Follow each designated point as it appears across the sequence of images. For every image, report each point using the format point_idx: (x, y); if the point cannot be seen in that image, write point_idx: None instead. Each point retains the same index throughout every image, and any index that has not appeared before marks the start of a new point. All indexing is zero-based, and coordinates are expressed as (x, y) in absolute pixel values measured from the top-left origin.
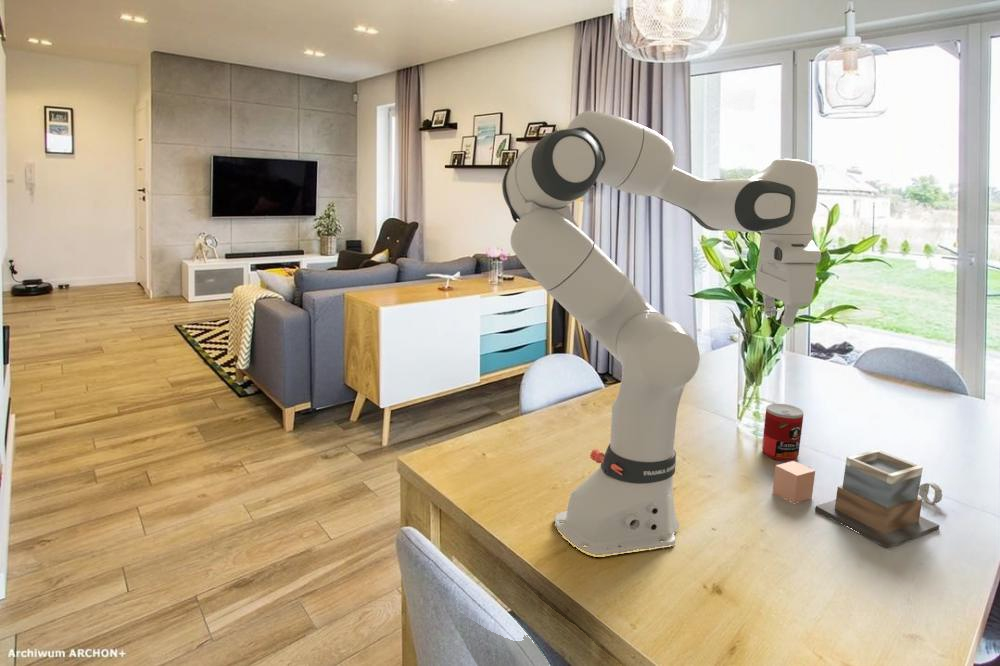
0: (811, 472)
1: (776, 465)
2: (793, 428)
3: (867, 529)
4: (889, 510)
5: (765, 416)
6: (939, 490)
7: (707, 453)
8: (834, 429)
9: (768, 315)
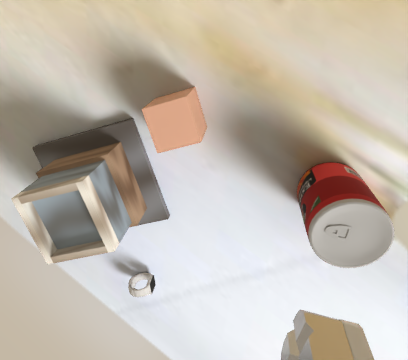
0: (154, 144)
1: (185, 97)
2: (304, 217)
3: (65, 146)
4: (37, 175)
5: (370, 196)
6: (129, 291)
7: (377, 50)
8: (391, 332)
9: (297, 319)
